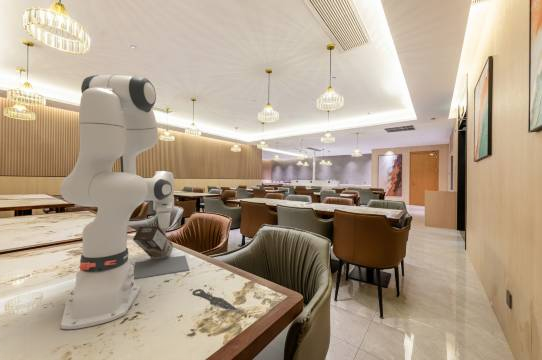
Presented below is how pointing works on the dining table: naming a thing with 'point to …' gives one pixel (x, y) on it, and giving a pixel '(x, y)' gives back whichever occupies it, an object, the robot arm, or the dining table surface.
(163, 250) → the coffee box
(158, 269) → the mat
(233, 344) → the dining table surface
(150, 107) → the robot arm
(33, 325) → the dining table surface
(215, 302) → the throwing knife
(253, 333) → the dining table surface
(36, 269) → the dining table surface
